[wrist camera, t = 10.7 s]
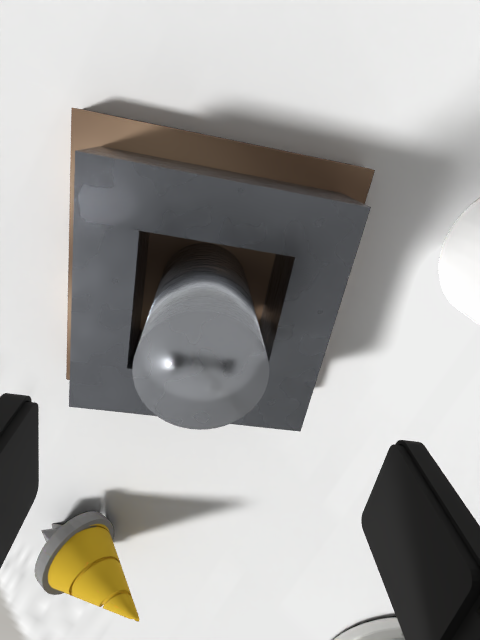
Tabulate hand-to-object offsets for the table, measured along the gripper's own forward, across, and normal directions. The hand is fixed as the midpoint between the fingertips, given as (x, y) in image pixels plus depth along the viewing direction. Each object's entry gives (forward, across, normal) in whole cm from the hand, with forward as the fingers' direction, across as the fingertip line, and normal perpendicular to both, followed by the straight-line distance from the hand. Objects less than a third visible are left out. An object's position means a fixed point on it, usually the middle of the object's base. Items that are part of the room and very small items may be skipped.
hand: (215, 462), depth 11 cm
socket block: (+12, 0, -1) cm, 12 cm away
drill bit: (+14, +6, +19) cm, 24 cm away
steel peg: (+12, +1, -1) cm, 12 cm away
